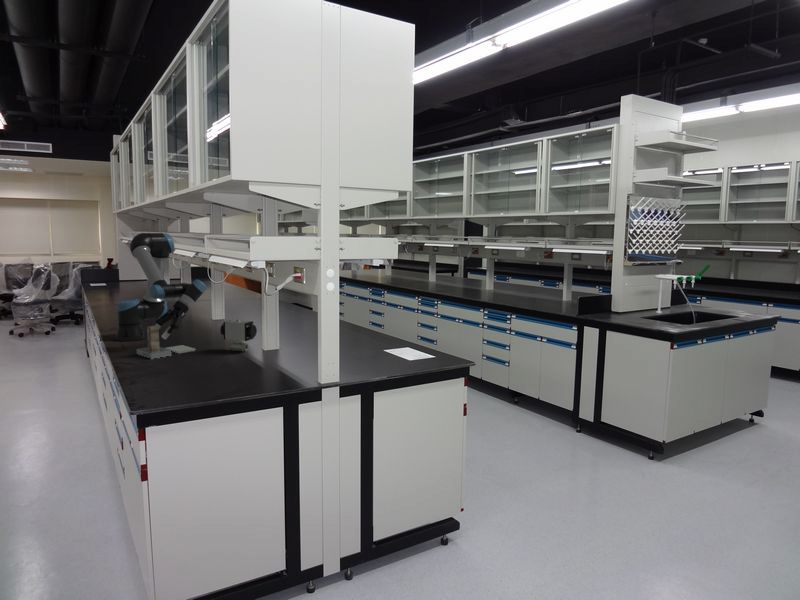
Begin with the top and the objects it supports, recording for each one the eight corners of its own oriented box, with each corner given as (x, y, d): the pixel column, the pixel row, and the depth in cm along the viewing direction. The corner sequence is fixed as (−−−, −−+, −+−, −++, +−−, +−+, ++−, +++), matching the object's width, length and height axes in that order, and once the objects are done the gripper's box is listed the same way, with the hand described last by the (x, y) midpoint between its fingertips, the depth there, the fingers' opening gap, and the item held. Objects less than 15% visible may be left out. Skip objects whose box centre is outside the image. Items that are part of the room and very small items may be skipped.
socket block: (136, 354, 265) (136, 348, 265) (156, 351, 273) (156, 345, 273) (151, 359, 255) (150, 353, 255) (171, 356, 263) (171, 350, 263)
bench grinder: (258, 350, 280) (258, 318, 278) (250, 353, 272) (249, 320, 270) (229, 348, 284) (228, 316, 282) (220, 351, 276) (219, 318, 274)
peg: (148, 355, 264) (147, 326, 262) (156, 354, 267) (154, 325, 265) (152, 356, 262) (150, 327, 260) (159, 355, 265) (158, 326, 263)
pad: (164, 349, 278) (164, 347, 278) (182, 346, 285) (182, 345, 285) (177, 353, 269) (177, 351, 269) (195, 350, 276) (195, 348, 276)
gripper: (200, 311, 268) (174, 343, 258) (176, 307, 283) (150, 337, 274) (190, 302, 263) (163, 335, 253) (166, 298, 279) (140, 329, 269)
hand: (156, 336), depth 263 cm, fingers open, 13 cm apart
